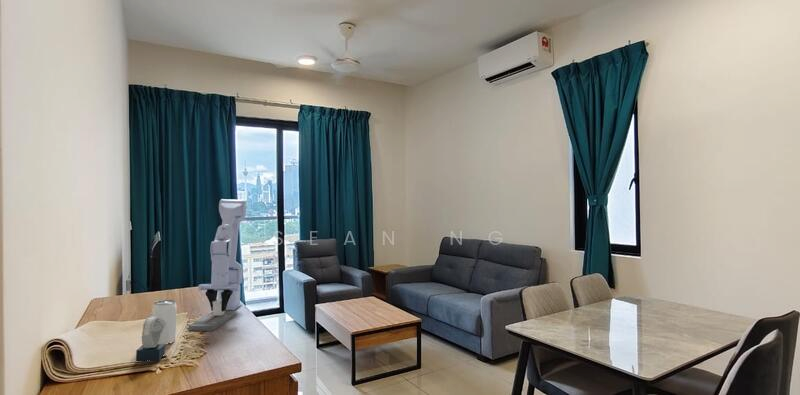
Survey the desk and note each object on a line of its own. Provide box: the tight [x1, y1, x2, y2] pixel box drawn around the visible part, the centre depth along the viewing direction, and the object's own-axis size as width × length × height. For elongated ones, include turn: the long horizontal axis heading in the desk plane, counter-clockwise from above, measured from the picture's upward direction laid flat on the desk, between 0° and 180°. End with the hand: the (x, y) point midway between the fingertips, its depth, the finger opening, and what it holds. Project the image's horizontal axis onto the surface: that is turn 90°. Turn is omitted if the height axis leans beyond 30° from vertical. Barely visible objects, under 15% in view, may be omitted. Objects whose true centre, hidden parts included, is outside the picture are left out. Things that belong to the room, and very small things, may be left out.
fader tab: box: [212, 298, 226, 316], centre depth 149 cm, size 4×3×5 cm
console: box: [188, 311, 235, 332], centre depth 144 cm, size 18×8×2 cm, turn 1°
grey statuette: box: [135, 316, 166, 362], centre depth 110 cm, size 6×8×11 cm
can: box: [151, 299, 178, 344], centre depth 123 cm, size 6×6×12 cm
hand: (218, 310), depth 149 cm, fingers open, 3 cm apart
